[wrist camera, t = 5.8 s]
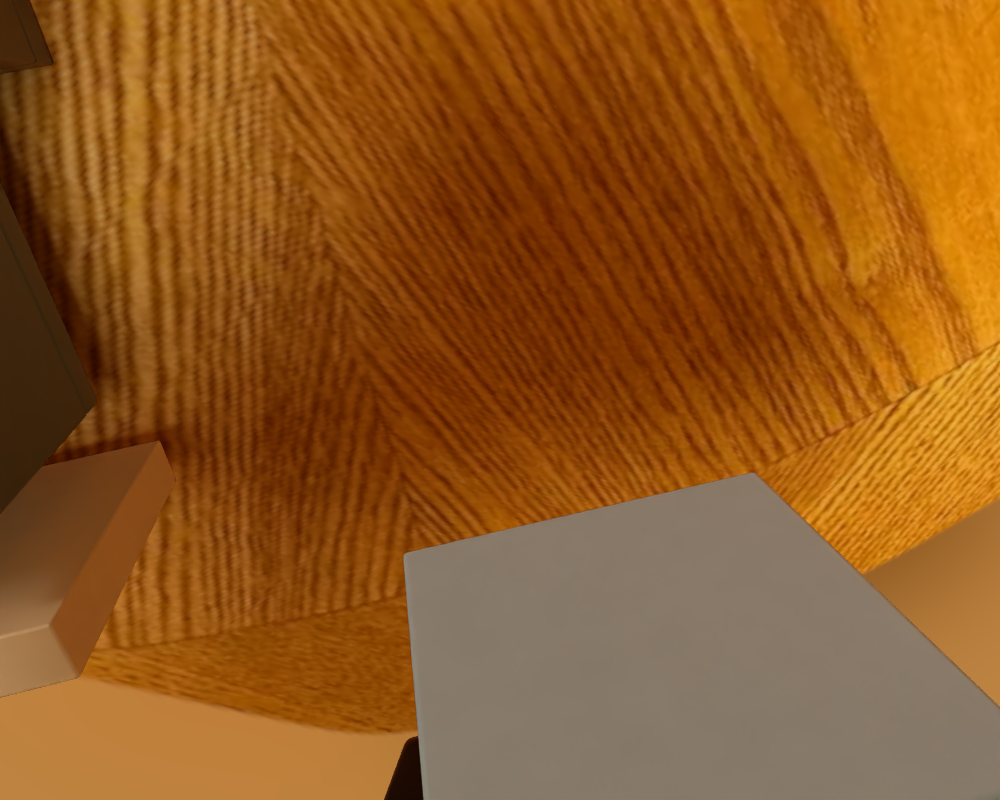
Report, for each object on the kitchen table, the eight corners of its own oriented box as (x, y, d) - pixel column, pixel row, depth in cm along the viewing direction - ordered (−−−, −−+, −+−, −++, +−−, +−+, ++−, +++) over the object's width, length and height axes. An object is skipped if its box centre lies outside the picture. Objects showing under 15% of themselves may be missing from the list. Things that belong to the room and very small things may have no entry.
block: (757, 726, 11) (994, 1104, 7) (466, 804, 11) (532, 1258, 7) (755, 469, 9) (1075, 774, 5) (401, 551, 9) (436, 959, 5)
